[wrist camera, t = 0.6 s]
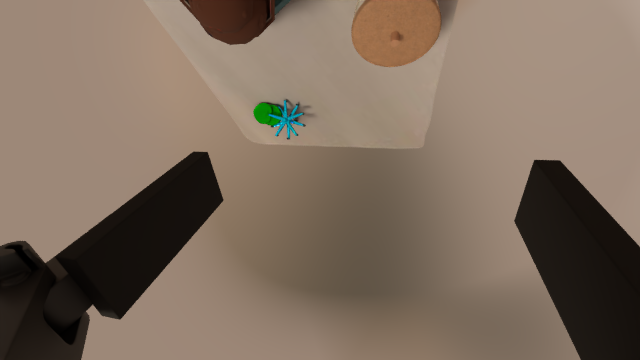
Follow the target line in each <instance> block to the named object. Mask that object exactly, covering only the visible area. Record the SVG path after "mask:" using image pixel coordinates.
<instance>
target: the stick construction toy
mask: <svg viewBox="0 0 640 360" xmlns="http://www.w3.org/2000/svg"><path fill="white" fill-rule="evenodd" d="M286 102H287V101H286V100H284V111H283V110H282V109H281V107H280V106H279V105H276V106H275V105H269V104H267V103H261V104H259V105H257V106H256V107H255V109H254V111H253V112H254V116H255V118H256V120H257V121H258V122H259V123H261V124H267V125H271V127H276V126H279V125H281V126H280V127H279V129H278V131H277V133H276V135H275V136H279V135H278V134H279V133H280V131H281V130H282V128H283V127H284V125H285V124H287V133H288V138H287V139H290V129H291V130H292V132H293V133H294V134H295V136H298V134H297V133H296V132H295V130H294V129H293V127H292V125H291V124H292V123H293V124H297V125H300V126H304V127H305V126H306V125H304V124H302V123H299V122H298V121H297V120H295V119H294V118H296V117H298V116H301V115H304V113H299V114H296V115H294V113H295V112H296V110H297V108H298V106H299V104H296V107H295V108H294V110H293V111H292V113H291V114H290V115H289V117H288V116H287V104H286ZM282 115H283V116H284V117H282ZM281 120H282V121H281ZM280 121H281V122H280Z"/></svg>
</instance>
